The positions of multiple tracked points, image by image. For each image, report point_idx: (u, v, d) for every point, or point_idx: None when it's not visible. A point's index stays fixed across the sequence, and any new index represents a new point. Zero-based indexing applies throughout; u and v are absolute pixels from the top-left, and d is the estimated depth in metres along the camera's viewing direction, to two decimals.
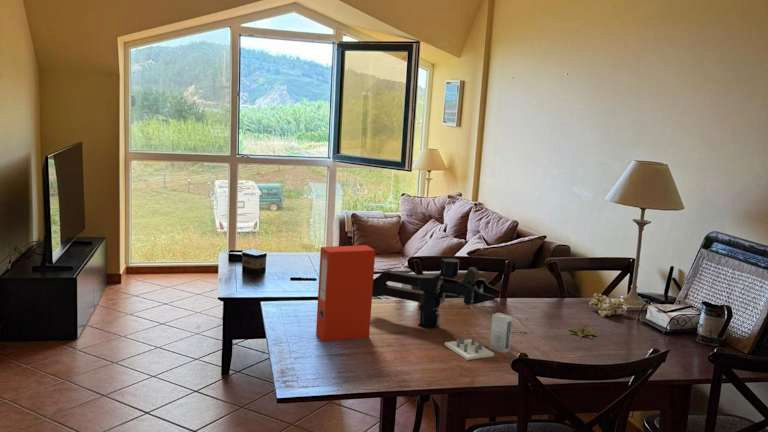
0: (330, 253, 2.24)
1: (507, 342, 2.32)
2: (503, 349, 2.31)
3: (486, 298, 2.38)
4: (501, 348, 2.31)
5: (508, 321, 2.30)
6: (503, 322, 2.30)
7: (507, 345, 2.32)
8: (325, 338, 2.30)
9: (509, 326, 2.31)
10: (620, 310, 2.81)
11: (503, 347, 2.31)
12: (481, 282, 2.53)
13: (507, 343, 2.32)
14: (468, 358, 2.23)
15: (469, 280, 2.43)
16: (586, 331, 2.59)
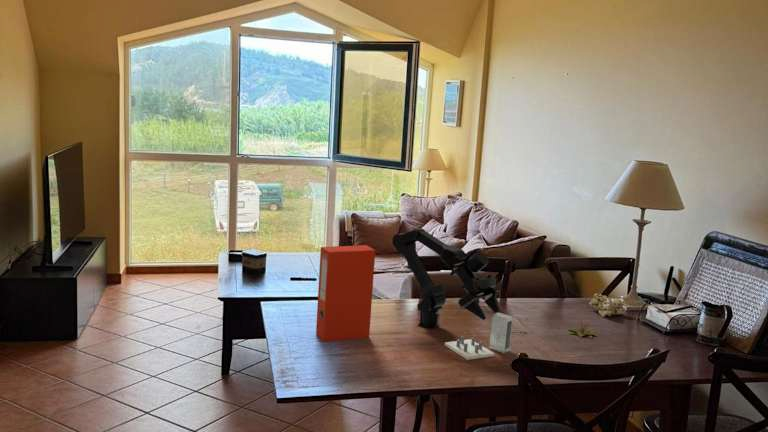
0: (330, 253, 2.24)
1: (507, 342, 2.32)
2: (503, 349, 2.31)
3: (478, 313, 2.32)
4: (501, 348, 2.31)
5: (508, 321, 2.30)
6: (503, 322, 2.30)
7: (507, 345, 2.32)
8: (325, 338, 2.30)
9: (509, 326, 2.31)
10: (620, 310, 2.81)
11: (503, 347, 2.31)
12: None
13: (507, 343, 2.32)
14: (468, 358, 2.23)
15: (480, 286, 2.34)
16: (586, 331, 2.59)
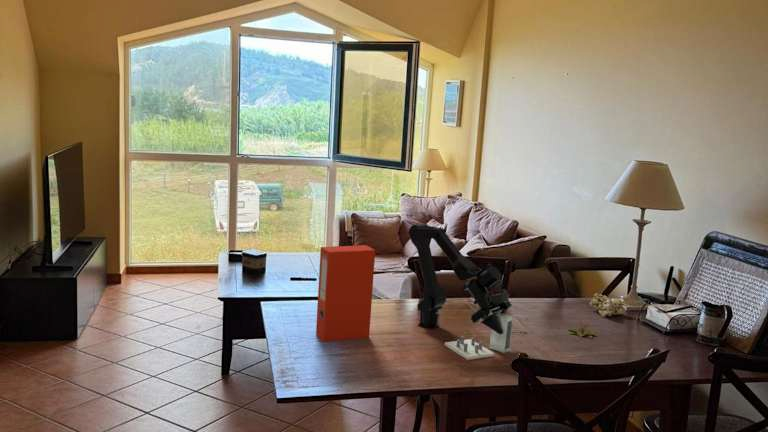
0: (330, 253, 2.24)
1: (507, 342, 2.32)
2: (503, 349, 2.31)
3: (495, 328, 2.31)
4: (501, 348, 2.31)
5: (508, 321, 2.30)
6: (504, 321, 2.30)
7: (507, 345, 2.32)
8: (325, 338, 2.30)
9: (509, 326, 2.31)
10: (621, 310, 2.82)
11: (503, 347, 2.31)
12: None
13: (507, 343, 2.32)
14: (468, 358, 2.23)
15: (493, 302, 2.31)
16: (586, 331, 2.59)
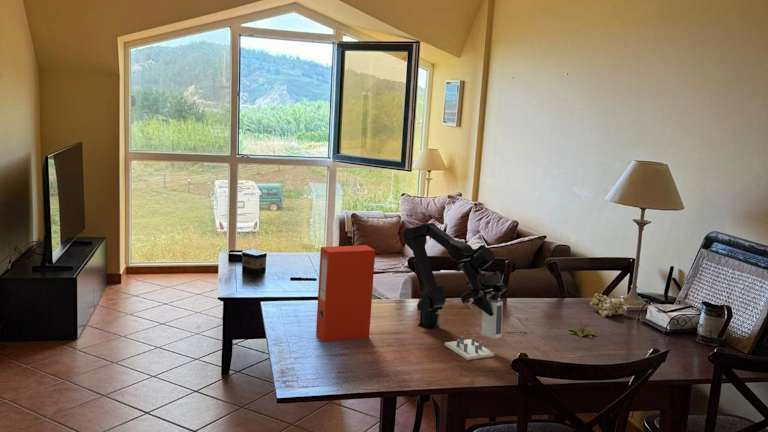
0: (330, 253, 2.24)
1: (498, 327, 2.29)
2: (494, 334, 2.28)
3: (485, 309, 2.29)
4: (492, 333, 2.29)
5: (497, 305, 2.27)
6: (493, 306, 2.28)
7: (498, 330, 2.29)
8: (325, 338, 2.30)
9: (499, 311, 2.28)
10: (621, 310, 2.82)
11: (494, 332, 2.28)
12: None
13: (498, 329, 2.29)
14: (468, 358, 2.23)
15: (484, 283, 2.29)
16: (586, 331, 2.59)
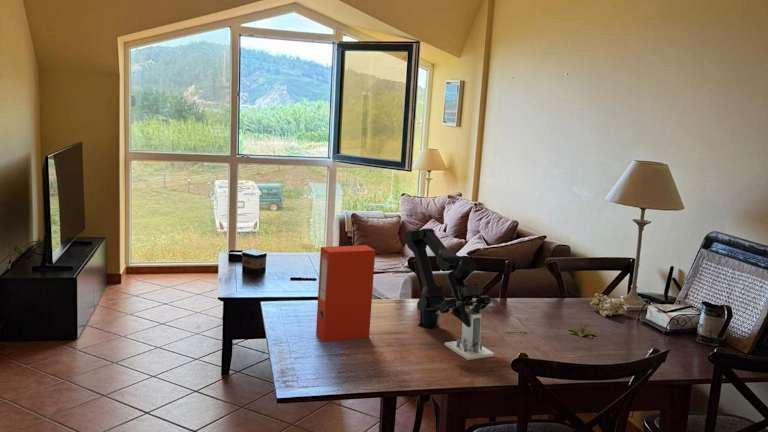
0: (330, 253, 2.24)
1: (475, 340, 2.27)
2: (470, 346, 2.27)
3: (463, 320, 2.29)
4: (469, 345, 2.28)
5: (474, 318, 2.26)
6: (470, 318, 2.27)
7: (476, 343, 2.28)
8: (325, 338, 2.30)
9: (477, 323, 2.27)
10: (621, 310, 2.82)
11: (470, 344, 2.27)
12: None
13: (475, 341, 2.27)
14: (468, 358, 2.23)
15: (463, 294, 2.29)
16: (586, 331, 2.59)
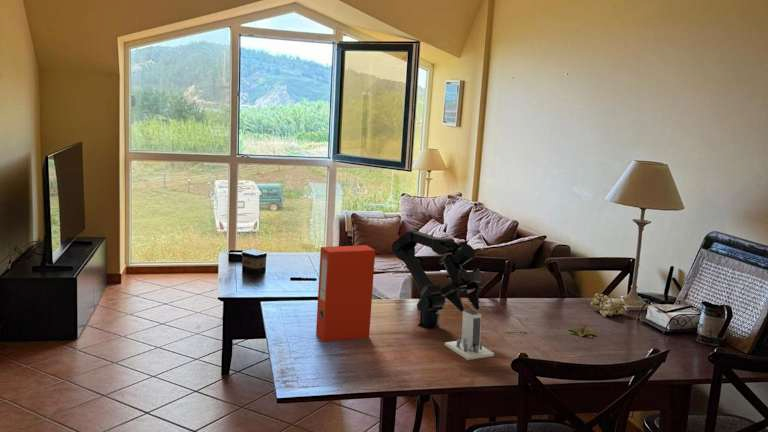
0: (330, 253, 2.24)
1: (475, 340, 2.27)
2: (470, 346, 2.27)
3: (457, 304, 2.33)
4: (469, 345, 2.28)
5: (474, 318, 2.26)
6: (470, 318, 2.27)
7: (476, 343, 2.28)
8: (325, 338, 2.30)
9: (477, 323, 2.27)
10: (621, 310, 2.82)
11: (470, 344, 2.27)
12: None
13: (475, 341, 2.27)
14: (468, 358, 2.23)
15: (464, 278, 2.35)
16: (586, 331, 2.59)
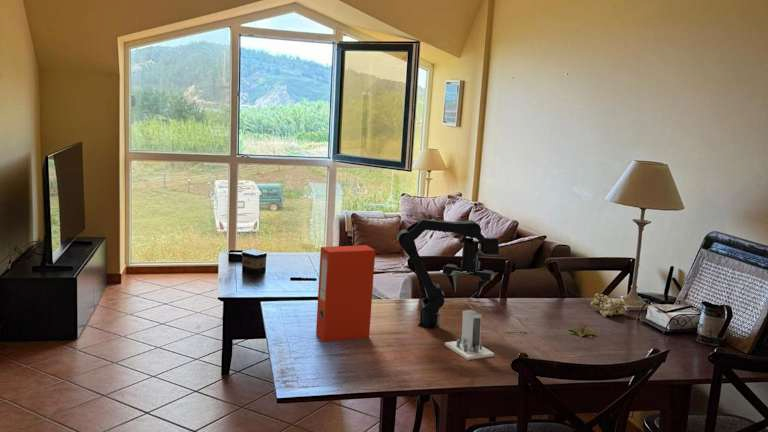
0: (330, 253, 2.24)
1: (475, 340, 2.27)
2: (470, 346, 2.27)
3: (480, 290, 2.51)
4: (469, 345, 2.28)
5: (474, 318, 2.26)
6: (470, 318, 2.27)
7: (476, 343, 2.28)
8: (325, 338, 2.30)
9: (477, 323, 2.27)
10: (622, 310, 2.82)
11: (470, 344, 2.27)
12: None
13: (475, 341, 2.27)
14: (468, 358, 2.23)
15: (477, 266, 2.55)
16: (586, 331, 2.59)
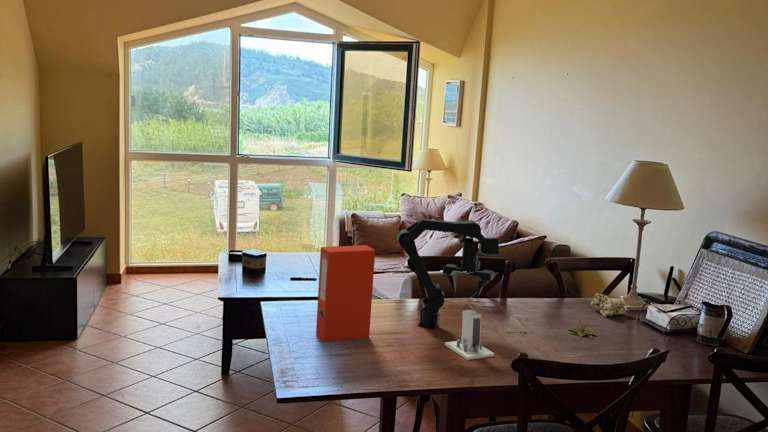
0: (330, 253, 2.24)
1: (475, 340, 2.27)
2: (470, 346, 2.27)
3: (480, 290, 2.51)
4: (469, 345, 2.28)
5: (474, 318, 2.26)
6: (470, 318, 2.27)
7: (476, 343, 2.28)
8: (325, 338, 2.30)
9: (477, 323, 2.27)
10: (622, 310, 2.82)
11: (470, 344, 2.27)
12: None
13: (475, 341, 2.27)
14: (468, 358, 2.23)
15: (477, 266, 2.55)
16: (586, 331, 2.60)
